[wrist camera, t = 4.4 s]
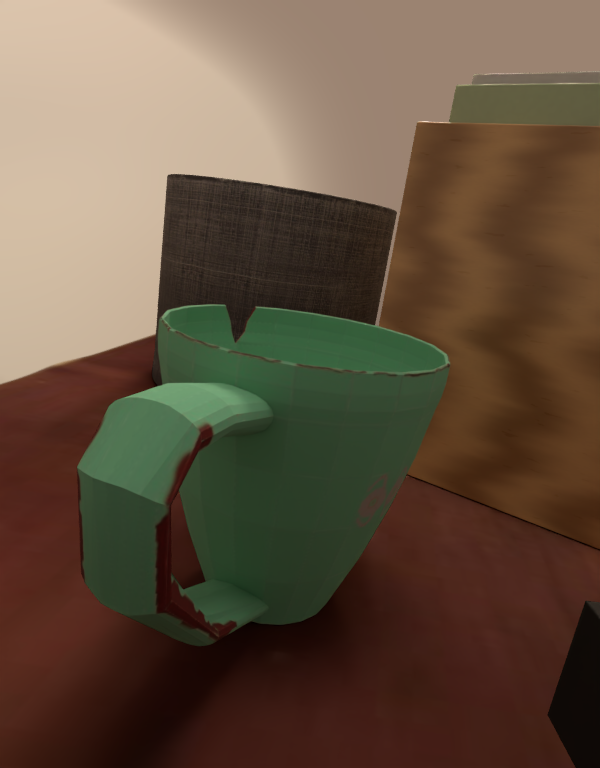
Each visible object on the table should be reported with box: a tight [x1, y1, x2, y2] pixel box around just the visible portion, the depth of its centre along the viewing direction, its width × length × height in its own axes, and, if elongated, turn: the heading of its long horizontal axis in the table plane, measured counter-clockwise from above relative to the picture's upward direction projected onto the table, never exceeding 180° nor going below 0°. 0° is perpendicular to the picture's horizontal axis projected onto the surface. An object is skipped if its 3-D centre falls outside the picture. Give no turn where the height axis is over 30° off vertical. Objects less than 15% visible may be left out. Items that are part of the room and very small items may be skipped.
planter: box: [152, 174, 397, 386], centre depth 45 cm, size 18×18×16 cm
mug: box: [77, 304, 450, 646], centre depth 18 cm, size 15×10×10 cm
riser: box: [379, 122, 600, 549], centre depth 36 cm, size 16×18×20 cm
